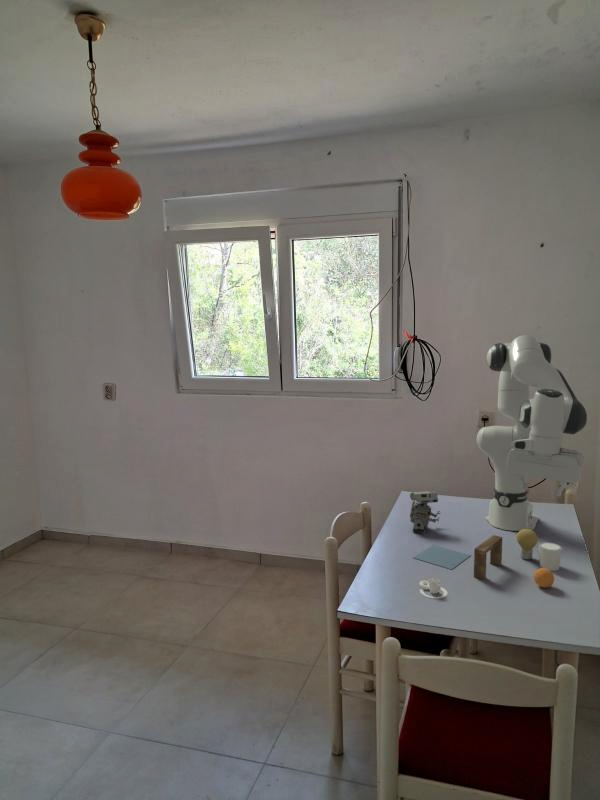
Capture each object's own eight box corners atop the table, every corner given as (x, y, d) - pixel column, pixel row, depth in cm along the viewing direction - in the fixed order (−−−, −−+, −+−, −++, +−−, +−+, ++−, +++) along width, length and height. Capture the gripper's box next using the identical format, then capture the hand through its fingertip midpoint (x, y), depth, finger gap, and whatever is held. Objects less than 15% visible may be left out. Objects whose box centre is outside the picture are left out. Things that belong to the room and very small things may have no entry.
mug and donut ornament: (415, 586, 163) (416, 573, 162) (441, 585, 163) (441, 572, 163) (424, 600, 154) (424, 587, 154) (451, 599, 155) (451, 586, 154)
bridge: (473, 576, 167) (474, 548, 166) (492, 561, 178) (493, 534, 177) (483, 579, 165) (483, 551, 164) (501, 564, 176) (502, 537, 175)
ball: (537, 580, 164) (537, 563, 164) (556, 586, 161) (557, 568, 160) (530, 587, 160) (531, 569, 160) (550, 592, 157) (551, 574, 156)
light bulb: (518, 552, 185) (519, 524, 183) (538, 556, 181) (539, 528, 180) (513, 559, 180) (514, 530, 178) (534, 563, 176) (535, 534, 175)
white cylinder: (551, 573, 169) (552, 552, 168) (533, 565, 175) (533, 544, 174) (565, 568, 172) (566, 547, 171) (547, 560, 178) (548, 540, 177)
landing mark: (433, 545, 192) (433, 544, 192) (470, 555, 183) (470, 555, 183) (413, 558, 182) (413, 557, 182) (451, 569, 173) (451, 569, 173)
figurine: (439, 534, 202) (440, 496, 200) (408, 532, 205) (409, 494, 203) (440, 526, 210) (440, 489, 208) (410, 523, 214) (410, 487, 212)
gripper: (587, 450, 151) (582, 498, 152) (514, 439, 165) (510, 483, 166) (580, 452, 147) (575, 502, 148) (506, 441, 160) (502, 486, 162)
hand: (540, 492), depth 157 cm, fingers open, 8 cm apart
